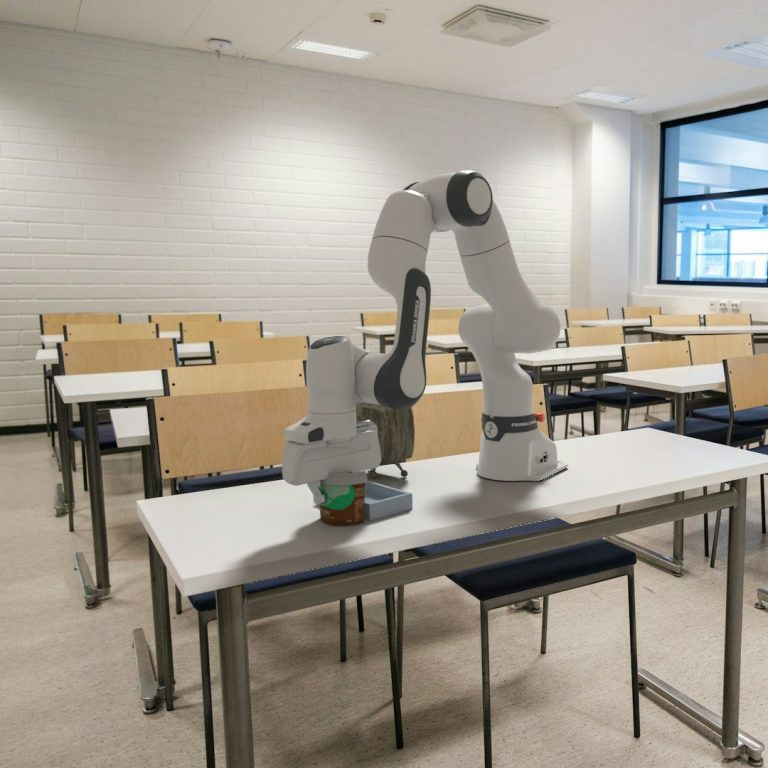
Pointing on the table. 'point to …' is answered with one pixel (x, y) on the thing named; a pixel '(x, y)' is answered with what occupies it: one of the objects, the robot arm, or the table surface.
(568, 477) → the table surface
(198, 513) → the table surface
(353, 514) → the food container
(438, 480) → the table surface
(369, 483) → the holder tray
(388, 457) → the tabletop clock
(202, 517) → the table surface
